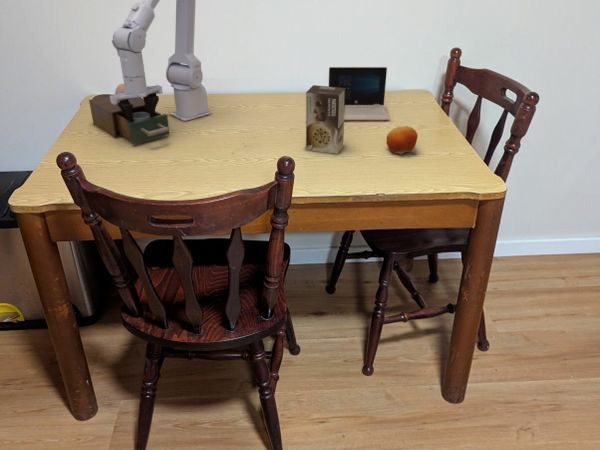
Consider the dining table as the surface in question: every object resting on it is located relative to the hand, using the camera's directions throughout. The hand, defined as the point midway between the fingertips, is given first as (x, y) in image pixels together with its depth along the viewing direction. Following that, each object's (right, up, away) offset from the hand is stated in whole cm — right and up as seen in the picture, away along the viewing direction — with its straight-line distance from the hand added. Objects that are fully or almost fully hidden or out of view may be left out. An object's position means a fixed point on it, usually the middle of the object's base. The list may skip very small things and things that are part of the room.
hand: (141, 123), depth 156 cm
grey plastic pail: (0, -1, +1) cm, 1 cm away
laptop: (+62, +6, +19) cm, 65 cm away
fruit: (+71, -9, -5) cm, 72 cm away
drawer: (+1, -3, +1) cm, 3 cm away
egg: (-12, +10, +25) cm, 30 cm away
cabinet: (-8, +1, +9) cm, 12 cm away
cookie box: (+51, -8, -4) cm, 52 cm away
